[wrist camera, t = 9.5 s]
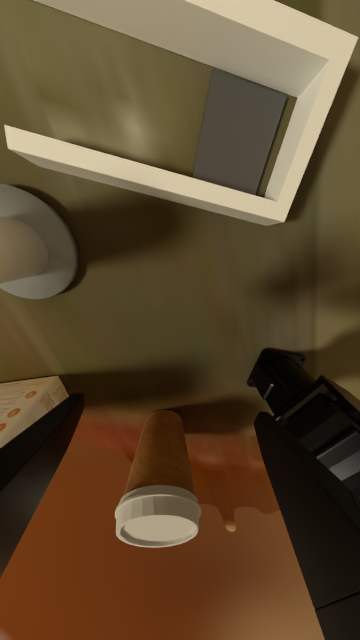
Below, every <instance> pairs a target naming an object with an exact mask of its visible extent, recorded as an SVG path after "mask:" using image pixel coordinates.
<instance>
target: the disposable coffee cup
mask: <svg viewBox="0 0 360 640" xmlns="http://www.w3.org/2000/svg"><path fill="white" fill-rule="evenodd" d="M200 515H201V508H200V506H199V504H198V501H197V498H196V496H195V492H194V487H193V481H192V475H191V469H190V464H189V458H188V452H187V447H186V441H185V435H184V430H183V424H182V419H181V417H180V416H179V415H178V414H177V413H175V412H173V411H169V410H158V411H155V412H152V413H150V414H149V415H148V416H147V417H146V419H145V423H144V426H143V429H142V433H141V436H140V440H139V443H138V446H137V450H136V453H135V457H134V460H133V464H132V468H131V471H130V474H129V478H128V481H127V485H126V488H125V491H124V496H123V497H122V499H121V500H120V503H119V505H118V507H117V508H116V511H115V518H116V520H117V521H116V535H117V537H118V538H119V539H120V540H122V541H123V542H125V543H127V544H131V545H135V546H140V547H167V546H173V545H177V544H181V543H184V542H186V541H189V540H190V539H192V538H193V537H194V536H196V534H197V533H198V523H199V517H200Z"/></svg>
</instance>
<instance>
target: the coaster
mask: <svg viewBox="0 0 360 640" xmlns="http://www.w3.org/2000/svg"><path fill="white" fill-rule="evenodd" d="M0 216H5V217H11V218H16V219H19V220H21V221H24V222H25V223H27V224H28V225H30V226H31V227H32V228H34V229H35V230H36V231H37V232H38V234H39V235H40V236H41V238H42V239H43V241H44V243H45V245H46V247H47V251H48V264H47V266H46V268H45V270H44V271H43V272H42V273H40V274H39V275H36V276H33V277H28V278H24V279H19V280H15V281H11V282H6V283H2V284H0V288H1V289H3V290H4V291H6V292H8V293H11V294H13V295H16V296H19V297H23V298H28V299H43V298H48V297H51V296H54V295H56V294H58V293H61V292H62V291H64V290H65V289H67V288H68V287H69V286H70V285H71V283H72V282H73V281H74V279H75V277H76V274H77V271H78V264H79V257H78V250H77V245H76V242H75V240H74V237H73V235H72V233H71V231H70V229H69V227H68V226H67V224H66V223H65V221H64V220H63V219H62V217H61V216H60V215H59V214H58V213H57V212H56V211H55V210H54V209H53V208H52V207H51V206H50V205H49V204H47V203H46V202H45V201H43V200H42V199H40V198H39V197H37V196H35V195H34V194H31V193H29V192H27V191H24V190H22V189H19V188H16V187H13V186H10V185H5V184H0Z"/></svg>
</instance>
